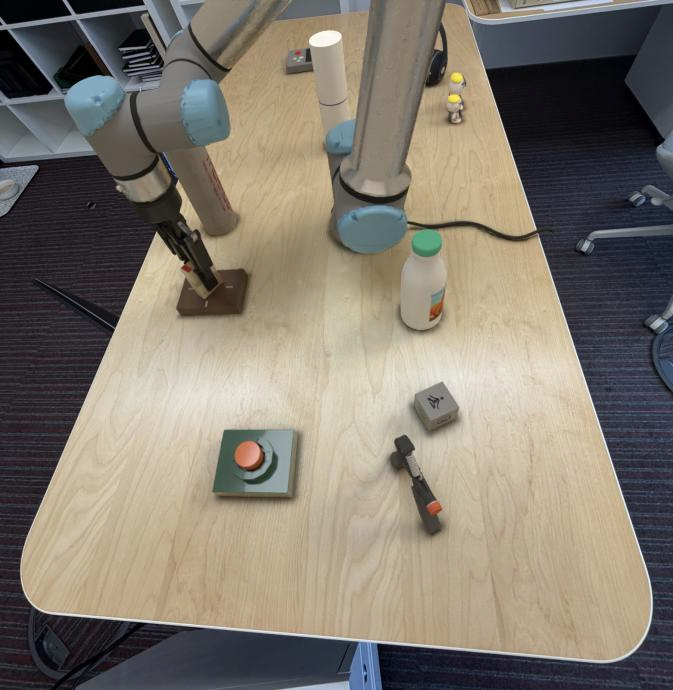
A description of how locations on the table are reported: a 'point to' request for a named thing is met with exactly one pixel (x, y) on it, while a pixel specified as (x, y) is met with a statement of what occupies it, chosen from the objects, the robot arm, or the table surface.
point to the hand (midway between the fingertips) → (207, 283)
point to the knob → (195, 280)
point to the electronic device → (299, 60)
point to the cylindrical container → (330, 78)
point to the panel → (215, 296)
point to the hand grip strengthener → (417, 484)
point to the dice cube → (435, 406)
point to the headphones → (438, 60)
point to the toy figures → (455, 97)
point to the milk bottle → (423, 281)
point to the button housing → (271, 473)
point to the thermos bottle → (203, 188)
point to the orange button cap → (249, 455)
